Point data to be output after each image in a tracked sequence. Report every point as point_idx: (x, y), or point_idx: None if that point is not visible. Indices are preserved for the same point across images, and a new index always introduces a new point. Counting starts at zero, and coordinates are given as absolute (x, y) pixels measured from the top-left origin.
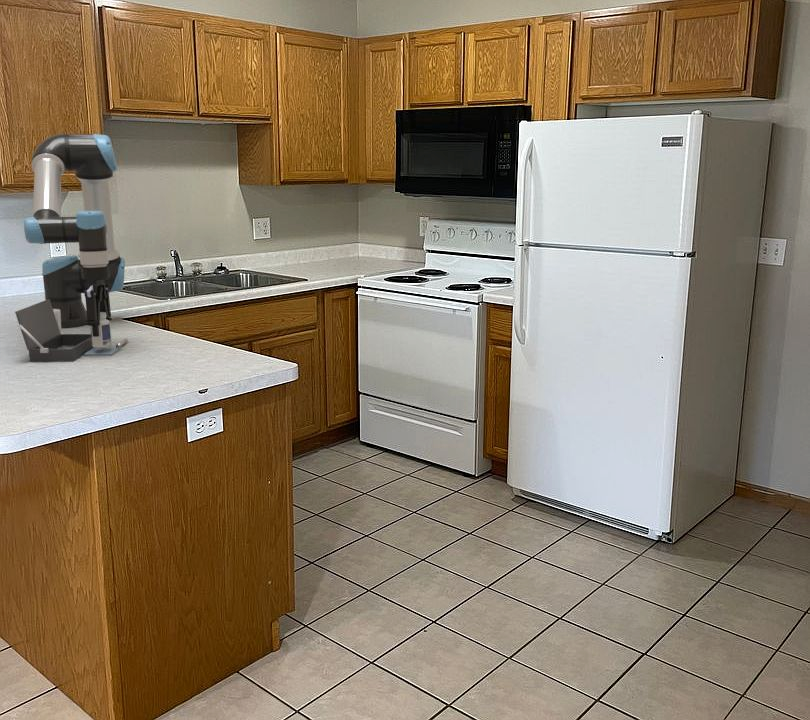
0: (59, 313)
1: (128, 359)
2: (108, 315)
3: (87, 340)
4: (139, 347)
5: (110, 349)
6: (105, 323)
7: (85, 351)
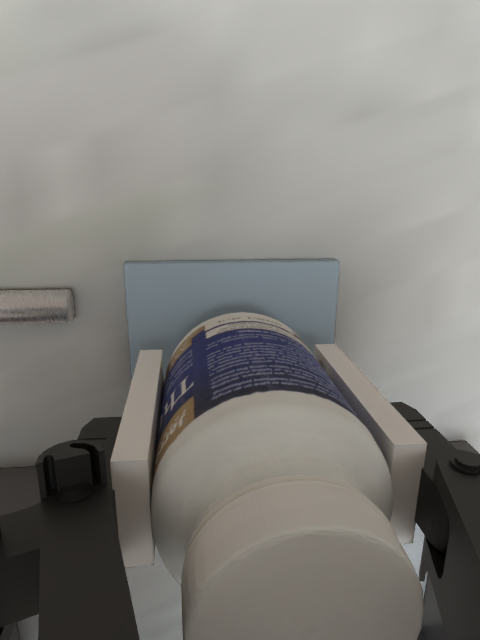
0: None
1: (465, 86)
2: (49, 523)
3: None
4: (12, 127)
5: (184, 323)
6: (346, 419)
7: None
